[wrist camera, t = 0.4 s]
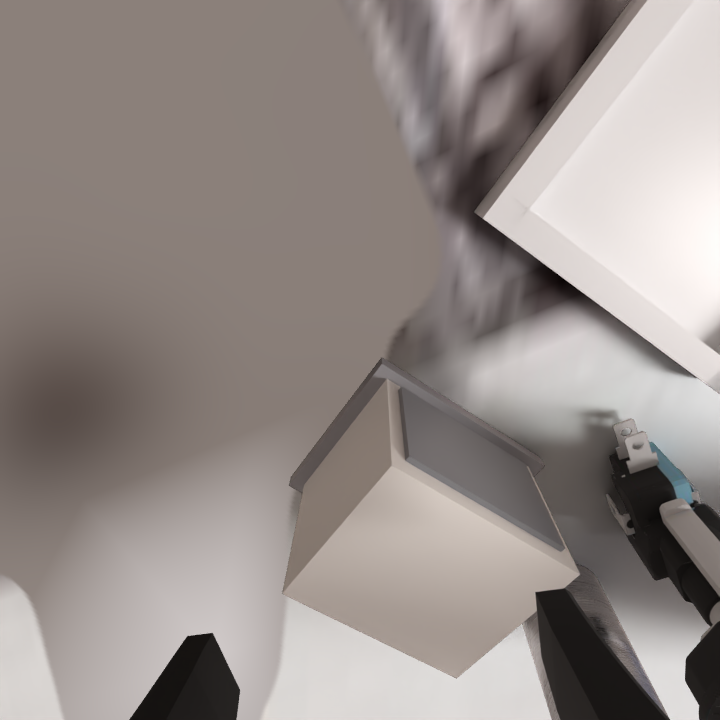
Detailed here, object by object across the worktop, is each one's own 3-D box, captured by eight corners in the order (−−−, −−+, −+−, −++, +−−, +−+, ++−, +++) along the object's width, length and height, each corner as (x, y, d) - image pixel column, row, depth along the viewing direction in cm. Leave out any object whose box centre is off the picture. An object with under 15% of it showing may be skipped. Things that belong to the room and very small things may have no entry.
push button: (552, 437, 20) (703, 686, 11) (687, 388, 19) (982, 618, 10) (595, 550, 22) (748, 833, 13) (717, 512, 21) (976, 791, 12)
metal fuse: (618, 586, 23) (704, 742, 17) (559, 633, 25) (619, 793, 19) (555, 549, 22) (621, 699, 16) (497, 600, 24) (539, 756, 18)
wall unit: (540, 457, 20) (601, 573, 15) (439, 557, 23) (460, 689, 17) (381, 357, 19) (385, 446, 13) (291, 476, 21) (262, 594, 16)
